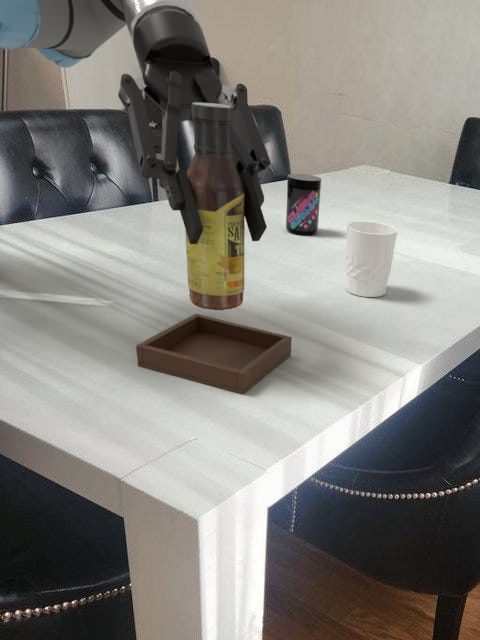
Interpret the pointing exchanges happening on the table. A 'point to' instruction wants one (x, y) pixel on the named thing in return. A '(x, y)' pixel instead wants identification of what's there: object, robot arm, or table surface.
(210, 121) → the sauce bottle
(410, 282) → the table surface
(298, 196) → the supplement container
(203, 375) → the tray
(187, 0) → the robot arm
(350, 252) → the white cup
